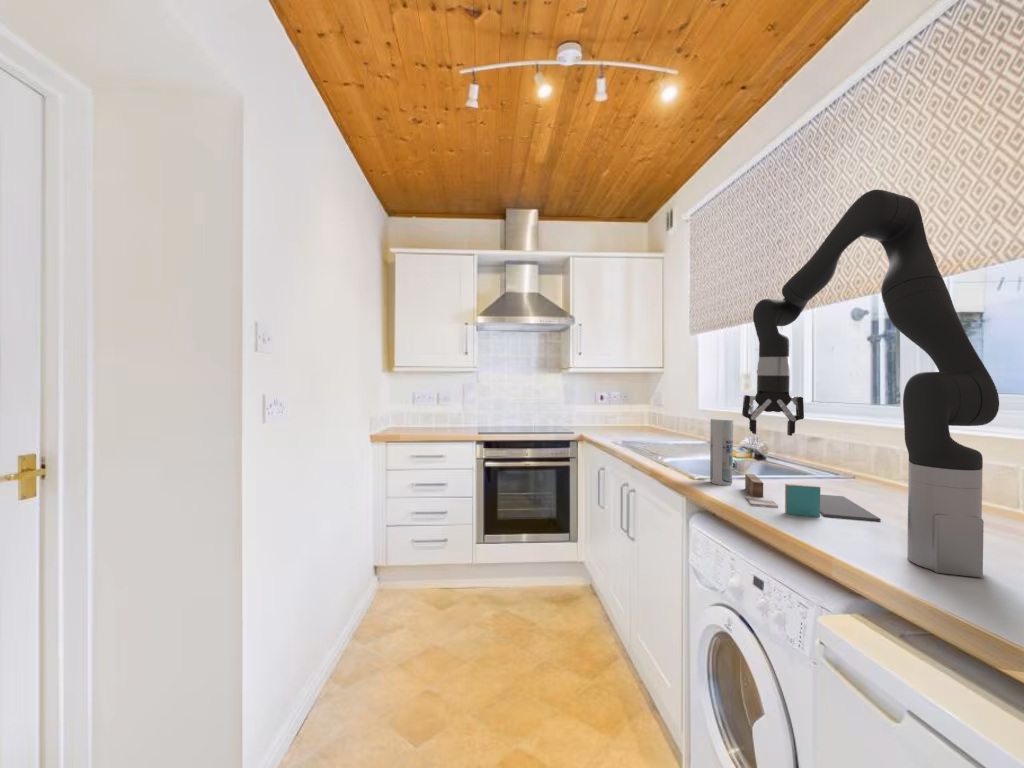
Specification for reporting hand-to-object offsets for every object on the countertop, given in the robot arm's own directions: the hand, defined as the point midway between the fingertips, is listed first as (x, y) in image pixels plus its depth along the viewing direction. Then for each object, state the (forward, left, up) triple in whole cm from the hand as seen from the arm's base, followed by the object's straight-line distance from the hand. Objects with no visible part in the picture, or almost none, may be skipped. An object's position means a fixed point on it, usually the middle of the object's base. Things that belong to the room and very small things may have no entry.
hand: (771, 434), depth 123 cm
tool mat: (-3, -14, -17) cm, 22 cm away
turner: (+1, +3, -18) cm, 18 cm away
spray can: (+17, +10, -18) cm, 27 cm away
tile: (-14, -4, -18) cm, 23 cm away
